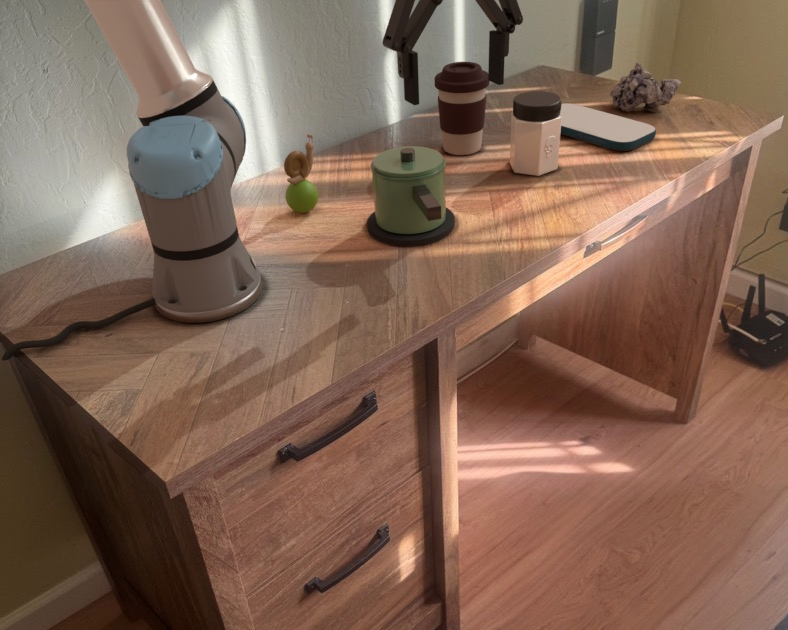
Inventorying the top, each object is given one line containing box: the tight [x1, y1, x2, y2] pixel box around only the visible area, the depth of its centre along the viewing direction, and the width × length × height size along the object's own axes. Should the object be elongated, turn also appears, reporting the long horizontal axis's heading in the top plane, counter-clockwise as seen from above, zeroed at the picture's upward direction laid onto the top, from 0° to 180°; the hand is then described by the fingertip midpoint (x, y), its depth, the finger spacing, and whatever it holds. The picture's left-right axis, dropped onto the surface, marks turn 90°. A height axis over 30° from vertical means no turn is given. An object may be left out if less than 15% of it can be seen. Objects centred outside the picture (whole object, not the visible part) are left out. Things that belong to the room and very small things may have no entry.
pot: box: [369, 145, 447, 234], centre depth 115 cm, size 12×19×11 cm, turn 15°
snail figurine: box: [283, 133, 319, 214], centre depth 125 cm, size 5×6×12 cm
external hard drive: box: [560, 102, 657, 152], centre depth 148 cm, size 24×12×2 cm, turn 40°
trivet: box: [366, 207, 456, 247], centre depth 122 cm, size 14×14×1 cm
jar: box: [509, 90, 562, 177], centre depth 134 cm, size 9×8×12 cm
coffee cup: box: [433, 61, 491, 156], centre depth 141 cm, size 10×10×15 cm
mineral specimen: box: [609, 61, 682, 113], centre depth 155 cm, size 12×9×10 cm
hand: (454, 92), depth 105 cm, fingers open, 13 cm apart
